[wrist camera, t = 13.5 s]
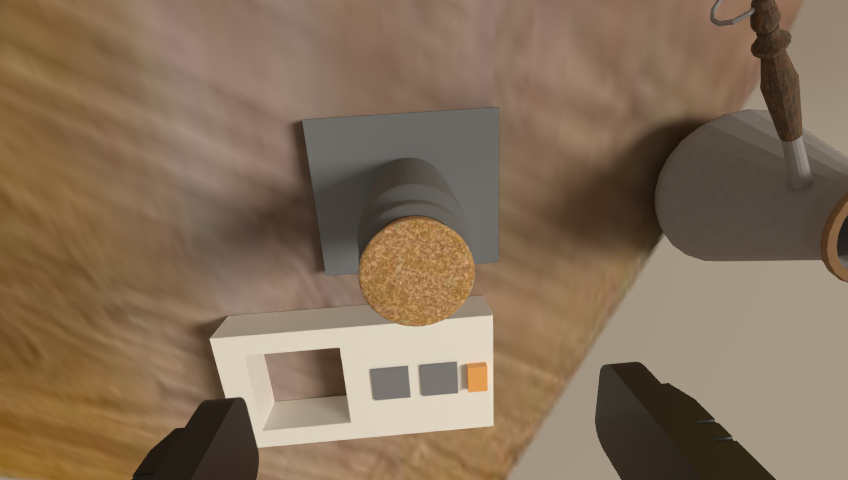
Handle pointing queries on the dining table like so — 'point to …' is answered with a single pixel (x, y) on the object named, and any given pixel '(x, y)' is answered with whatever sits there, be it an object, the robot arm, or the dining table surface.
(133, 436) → the dining table surface
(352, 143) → the mat
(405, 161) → the bottle
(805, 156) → the coffee pot
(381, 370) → the power strip
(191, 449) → the robot arm
